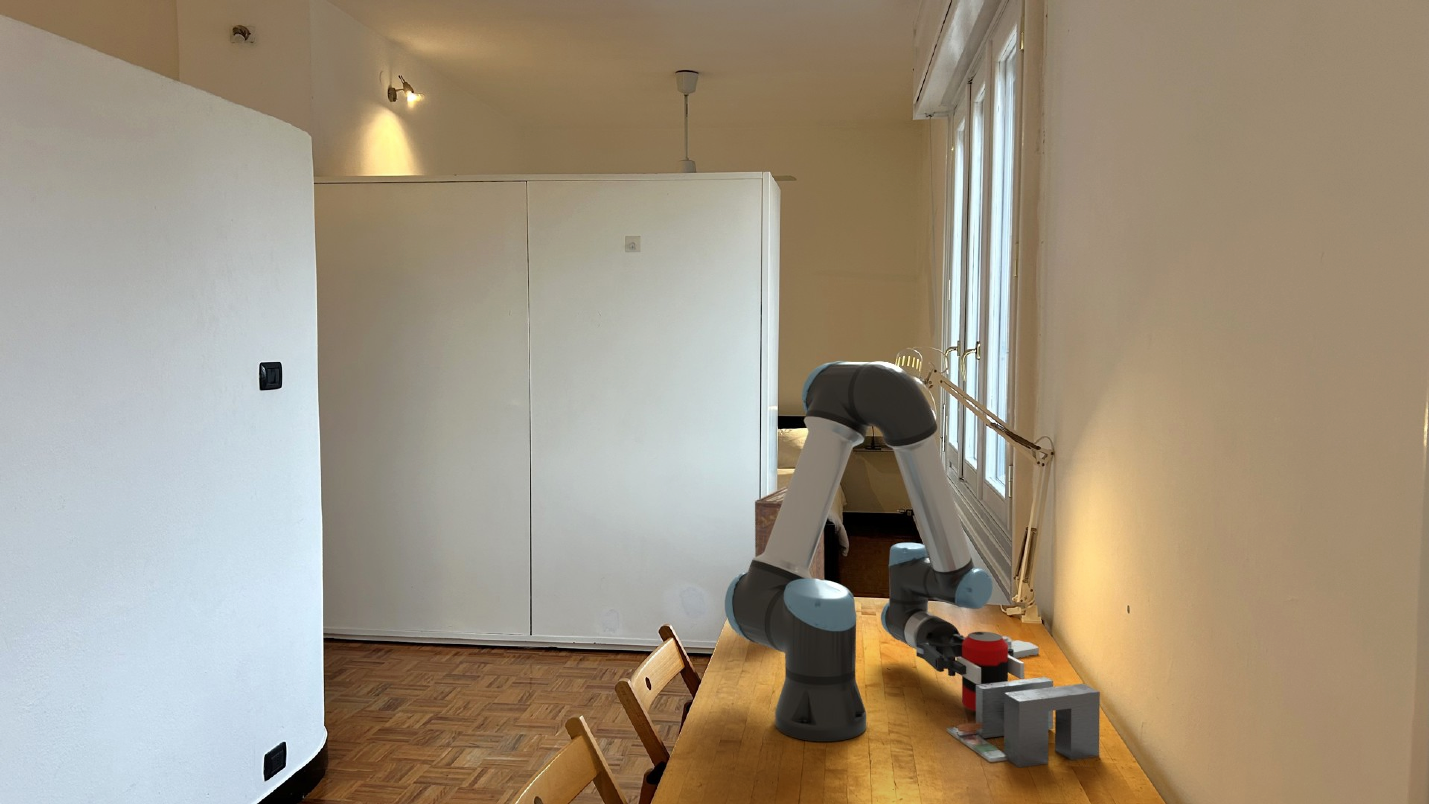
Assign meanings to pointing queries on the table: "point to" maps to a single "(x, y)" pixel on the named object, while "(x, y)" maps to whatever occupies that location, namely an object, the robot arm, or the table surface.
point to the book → (765, 522)
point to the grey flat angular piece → (1021, 647)
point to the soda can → (984, 662)
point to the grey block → (1000, 705)
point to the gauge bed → (1043, 726)
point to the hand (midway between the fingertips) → (1000, 673)
